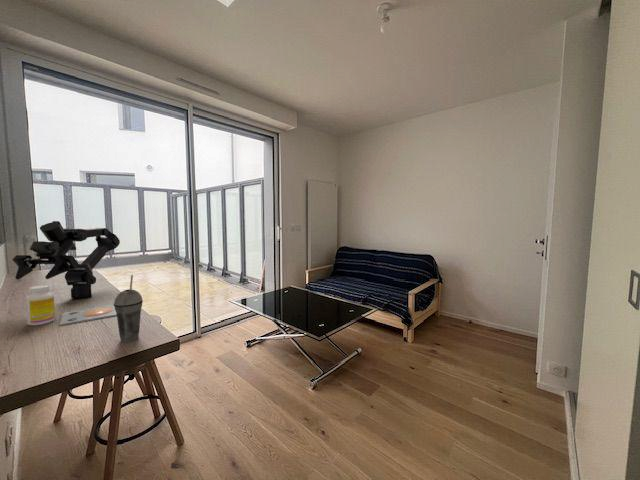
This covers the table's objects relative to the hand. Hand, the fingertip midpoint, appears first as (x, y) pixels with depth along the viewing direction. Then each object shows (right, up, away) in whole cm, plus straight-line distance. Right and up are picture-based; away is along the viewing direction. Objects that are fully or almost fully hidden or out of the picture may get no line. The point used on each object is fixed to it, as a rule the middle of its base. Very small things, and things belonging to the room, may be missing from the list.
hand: (31, 278), depth 94 cm
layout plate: (+18, -15, +4) cm, 24 cm away
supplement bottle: (+8, -15, -4) cm, 18 cm away
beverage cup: (+47, -17, -14) cm, 52 cm away
